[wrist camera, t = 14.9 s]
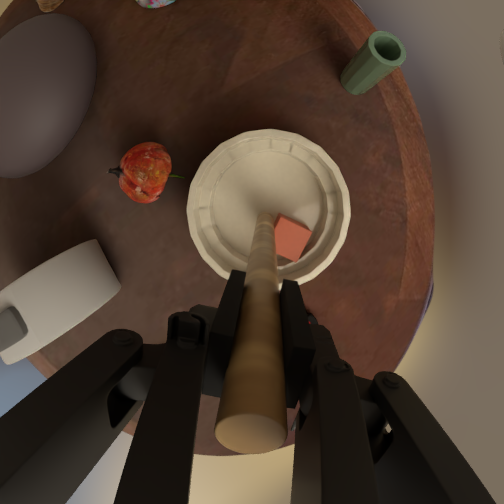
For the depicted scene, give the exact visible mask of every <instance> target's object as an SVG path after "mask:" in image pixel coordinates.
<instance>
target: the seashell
mask: <svg viewBox="0 0 504 504" xmlns="http://www.w3.org/2000/svg"><path fill="white" fill-rule="evenodd" d="M63 1H64V0H36V2H37V3H38V5H39V8H40V10H42V11H43V12H50V11H53V10H54V9H55V8H57V7H58V6H59V5H60V4H61V3H62V2H63Z"/></svg>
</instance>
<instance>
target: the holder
mask: <svg viewBox="0 0 504 504" xmlns="http://www.w3.org/2000/svg"><path fill="white" fill-rule="evenodd" d="M405 59H406V50H405V48H404V46H403V44H402V42H401V41H400V40H399V39H398V38H397V37H396V36H395V35H393V34H391V33H388V32H386V31H377V32H374V33H373V34H372V35H370V36H369V38H368V39H367V40H366V41H365V43H364V44H363V45H362V47H361V48H360V49H359V50H358V52H357V53H356V54H355V56H354V57H353V58H352V60H351V61H350V62H349V63H348V65H347V66H346V67H345V69H344V70H343V71H342V73H341V76H340V81H341V84H342V86H343V87H344V89H345V90H346V91H348V92H349V93H351V94H355V95H360V94H363V93H365V92H367V91H368V90H369V89H370V88H372V87H373V86H374V85H375V84H377V83H378V82H379V81H380V80H382V79H383V78H384V77H386V76H387V75H388V74H389V73H391V72H392V71H393V70H395V69H396V68H397V67H399V66H400V65H401V64H402V63H403V62H404V61H405Z"/></svg>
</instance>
